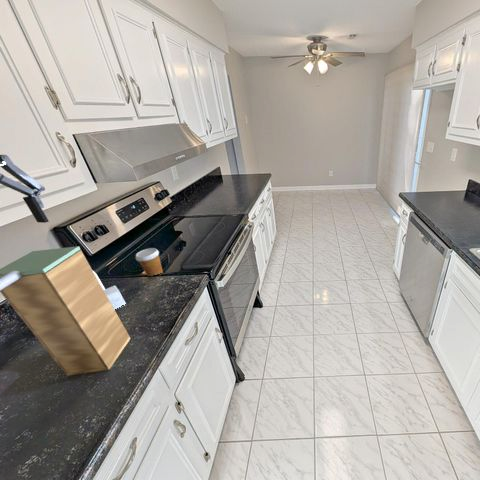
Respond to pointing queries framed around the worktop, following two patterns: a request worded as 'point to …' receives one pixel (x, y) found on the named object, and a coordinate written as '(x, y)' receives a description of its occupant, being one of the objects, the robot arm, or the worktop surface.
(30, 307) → the tall bin
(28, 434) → the worktop surface
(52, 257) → the sliding top
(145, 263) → the disposable coffee cup
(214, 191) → the worktop surface
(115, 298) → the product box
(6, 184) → the robot arm
